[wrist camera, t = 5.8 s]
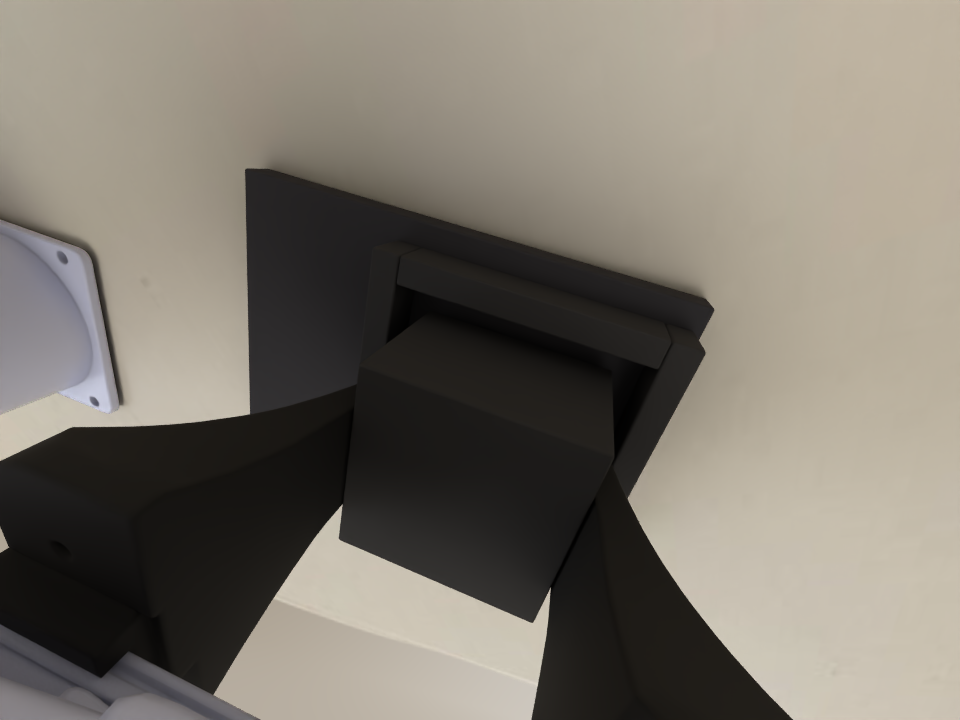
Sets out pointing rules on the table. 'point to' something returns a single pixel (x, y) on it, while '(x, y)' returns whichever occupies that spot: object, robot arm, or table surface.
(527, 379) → the black square block
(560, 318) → the base pad
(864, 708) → the table surface
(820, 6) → the table surface
